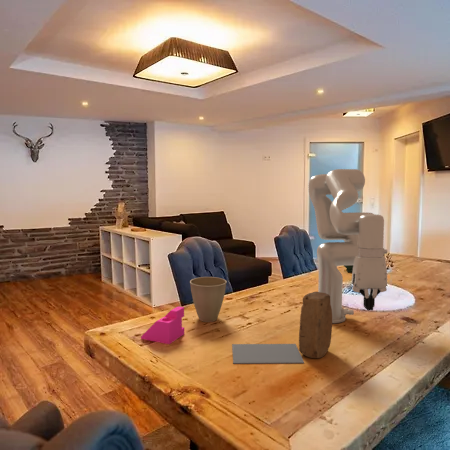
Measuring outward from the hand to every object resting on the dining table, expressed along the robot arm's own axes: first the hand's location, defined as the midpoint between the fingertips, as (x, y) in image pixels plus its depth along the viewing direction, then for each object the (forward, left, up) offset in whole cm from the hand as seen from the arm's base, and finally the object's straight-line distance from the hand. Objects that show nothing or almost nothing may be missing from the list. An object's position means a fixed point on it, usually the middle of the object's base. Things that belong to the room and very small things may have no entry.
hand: (368, 309), depth 125 cm
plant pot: (+53, -34, -15) cm, 65 cm away
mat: (+33, -1, -15) cm, 36 cm away
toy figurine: (-36, -120, -15) cm, 127 cm away
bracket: (+69, -16, -15) cm, 72 cm away
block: (+17, -1, -15) cm, 23 cm away
